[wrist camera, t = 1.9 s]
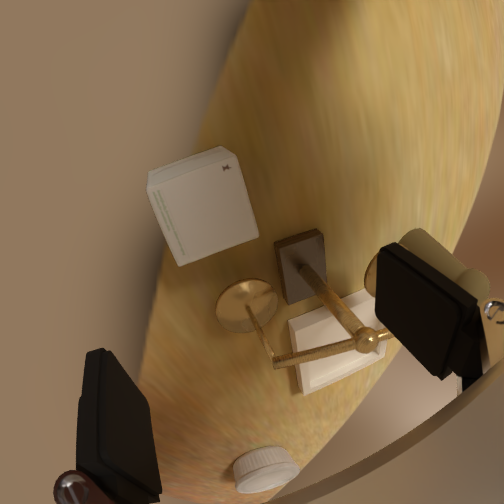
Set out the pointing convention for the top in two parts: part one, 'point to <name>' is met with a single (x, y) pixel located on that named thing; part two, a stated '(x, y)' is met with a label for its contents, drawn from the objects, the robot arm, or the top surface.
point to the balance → (296, 289)
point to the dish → (330, 331)
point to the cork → (446, 263)
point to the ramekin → (264, 469)
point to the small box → (201, 204)
